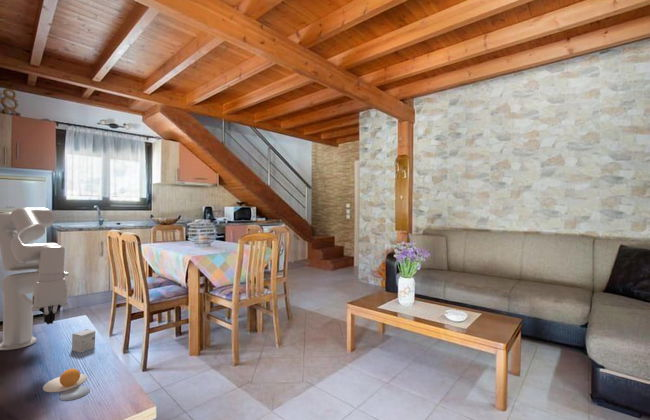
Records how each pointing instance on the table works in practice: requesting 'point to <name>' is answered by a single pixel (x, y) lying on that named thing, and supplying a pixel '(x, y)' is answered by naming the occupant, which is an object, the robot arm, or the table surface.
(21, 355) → the table surface
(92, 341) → the skincare box
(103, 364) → the table surface
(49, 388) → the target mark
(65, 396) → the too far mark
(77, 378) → the ball
